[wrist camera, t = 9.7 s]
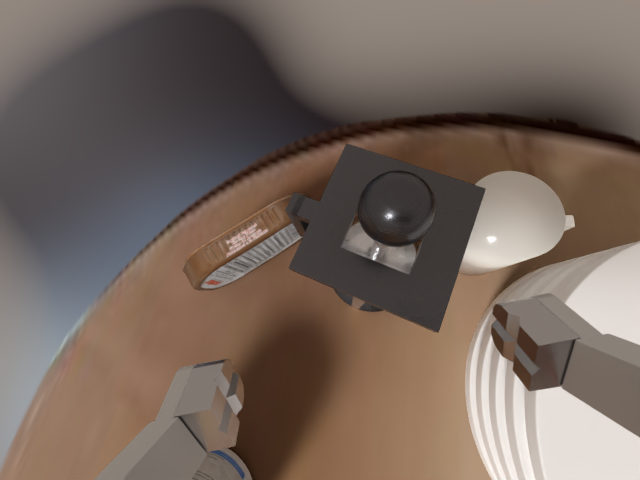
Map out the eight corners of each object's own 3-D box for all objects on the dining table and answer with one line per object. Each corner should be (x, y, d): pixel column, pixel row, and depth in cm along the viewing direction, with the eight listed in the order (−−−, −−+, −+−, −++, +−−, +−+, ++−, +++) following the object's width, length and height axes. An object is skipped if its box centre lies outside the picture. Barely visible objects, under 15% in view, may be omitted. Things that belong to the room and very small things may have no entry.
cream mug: (435, 273, 32) (468, 256, 23) (433, 208, 33) (462, 170, 25) (526, 278, 30) (597, 261, 22) (518, 210, 32) (580, 171, 24)
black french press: (426, 245, 32) (486, 188, 18) (397, 326, 30) (438, 332, 16) (326, 207, 35) (311, 132, 21) (293, 280, 33) (251, 252, 19)
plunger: (424, 236, 26) (498, 154, 13) (399, 306, 25) (453, 291, 12) (355, 210, 28) (360, 113, 15) (327, 275, 26) (305, 232, 13)
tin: (313, 209, 35) (302, 176, 27) (327, 229, 34) (320, 201, 26) (205, 276, 34) (161, 262, 26) (217, 299, 33) (175, 292, 25)
